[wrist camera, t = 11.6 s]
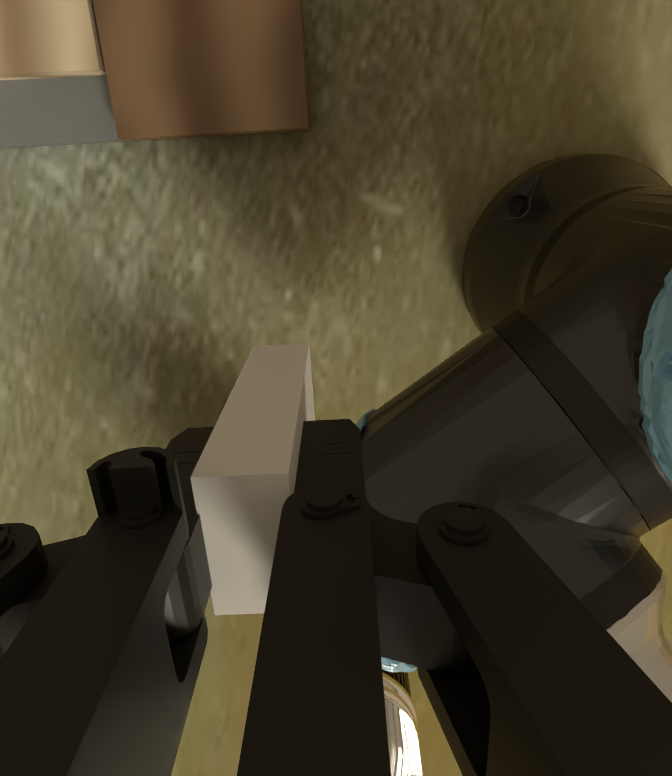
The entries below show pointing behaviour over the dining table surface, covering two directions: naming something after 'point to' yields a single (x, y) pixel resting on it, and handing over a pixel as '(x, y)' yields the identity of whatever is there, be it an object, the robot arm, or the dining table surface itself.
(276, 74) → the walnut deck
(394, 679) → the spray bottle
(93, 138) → the slate mat
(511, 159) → the dining table surface
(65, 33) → the birch tile
